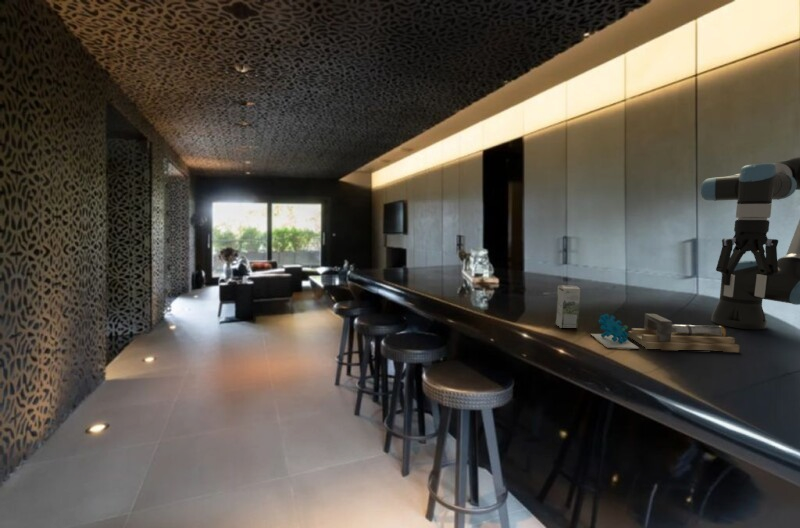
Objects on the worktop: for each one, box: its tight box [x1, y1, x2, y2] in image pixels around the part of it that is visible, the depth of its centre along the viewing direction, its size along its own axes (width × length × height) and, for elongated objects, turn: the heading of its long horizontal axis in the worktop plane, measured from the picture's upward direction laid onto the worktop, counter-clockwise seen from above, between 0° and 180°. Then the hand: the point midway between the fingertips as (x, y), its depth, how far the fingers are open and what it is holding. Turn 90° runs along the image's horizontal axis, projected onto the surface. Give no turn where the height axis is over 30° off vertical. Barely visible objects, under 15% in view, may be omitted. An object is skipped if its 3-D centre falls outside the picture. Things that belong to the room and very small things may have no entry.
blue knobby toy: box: [598, 313, 629, 343], centre depth 124 cm, size 11×6×10 cm
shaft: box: [671, 324, 727, 337], centre depth 120 cm, size 15×4×4 cm, turn 85°
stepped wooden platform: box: [627, 313, 741, 353], centre depth 121 cm, size 25×12×8 cm, turn 85°
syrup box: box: [555, 285, 581, 329], centre depth 139 cm, size 6×6×14 cm
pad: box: [590, 333, 640, 350], centre depth 123 cm, size 9×13×1 cm
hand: (743, 296), depth 118 cm, fingers open, 8 cm apart
